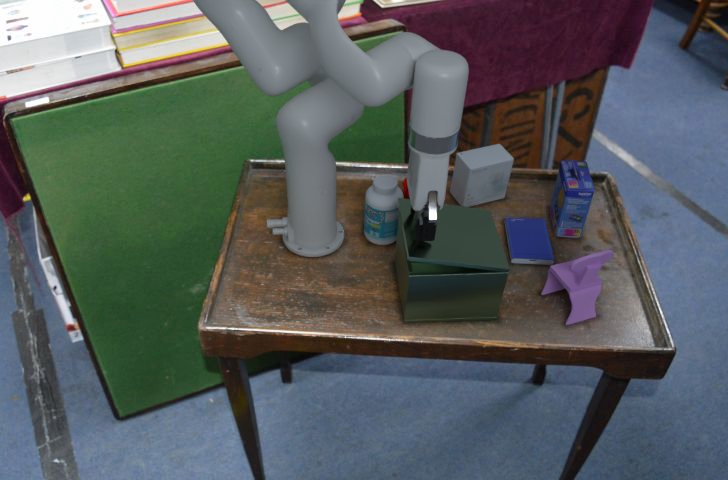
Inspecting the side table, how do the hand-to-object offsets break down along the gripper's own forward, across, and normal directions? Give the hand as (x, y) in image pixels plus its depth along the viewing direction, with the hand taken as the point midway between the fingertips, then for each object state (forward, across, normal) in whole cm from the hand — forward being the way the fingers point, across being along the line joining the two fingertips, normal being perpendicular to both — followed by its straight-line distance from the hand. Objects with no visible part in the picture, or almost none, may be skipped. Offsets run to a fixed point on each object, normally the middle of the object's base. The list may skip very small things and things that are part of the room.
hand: (422, 225), depth 112 cm
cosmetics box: (+16, -29, +17) cm, 37 cm away
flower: (+16, -22, +3) cm, 28 cm away
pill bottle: (+16, -16, -5) cm, 23 cm away
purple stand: (+16, +4, +28) cm, 32 cm away
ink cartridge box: (+16, -19, +33) cm, 41 cm away
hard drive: (+16, -13, +24) cm, 32 cm away
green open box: (+16, 0, +6) cm, 17 cm away
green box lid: (+2, 0, +5) cm, 6 cm away
